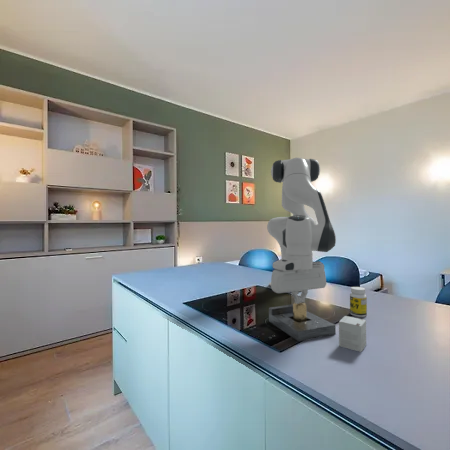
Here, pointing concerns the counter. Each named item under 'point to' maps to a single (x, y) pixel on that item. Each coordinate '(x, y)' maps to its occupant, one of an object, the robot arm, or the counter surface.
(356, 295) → the supplement bottle
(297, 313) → the bushing
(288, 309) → the jig
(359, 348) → the skincare box
